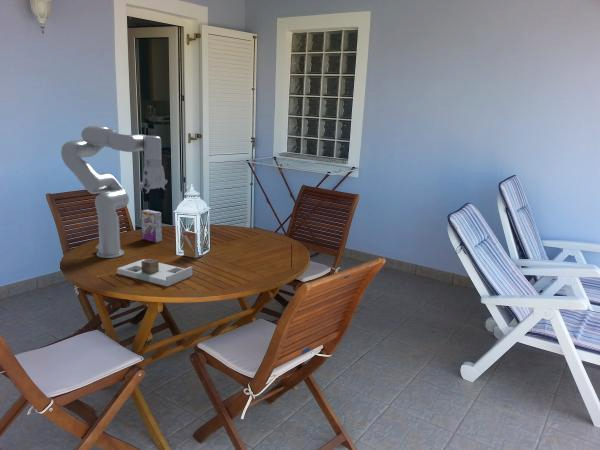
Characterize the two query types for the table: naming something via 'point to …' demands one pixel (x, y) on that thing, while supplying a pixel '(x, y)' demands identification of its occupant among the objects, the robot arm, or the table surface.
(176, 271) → the deck
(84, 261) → the table surface
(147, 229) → the candy bar box
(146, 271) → the walnut block
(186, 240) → the small box
